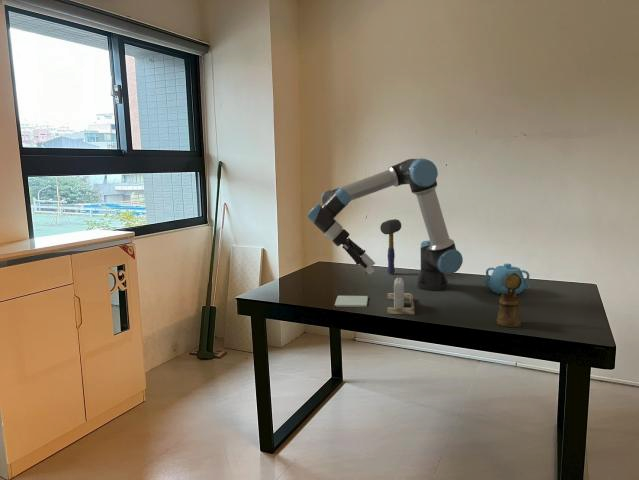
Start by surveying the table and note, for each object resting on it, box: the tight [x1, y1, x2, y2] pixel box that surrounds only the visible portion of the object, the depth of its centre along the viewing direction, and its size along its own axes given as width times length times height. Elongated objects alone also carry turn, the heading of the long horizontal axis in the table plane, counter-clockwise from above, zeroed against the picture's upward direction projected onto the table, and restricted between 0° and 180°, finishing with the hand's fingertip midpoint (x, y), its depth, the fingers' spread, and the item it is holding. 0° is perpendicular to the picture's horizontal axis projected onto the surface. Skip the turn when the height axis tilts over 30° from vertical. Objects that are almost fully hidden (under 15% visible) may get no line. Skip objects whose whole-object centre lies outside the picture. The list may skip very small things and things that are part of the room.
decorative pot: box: [484, 263, 531, 295], centre depth 229 cm, size 16×16×14 cm
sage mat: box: [334, 295, 369, 308], centre depth 222 cm, size 14×14×1 cm
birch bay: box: [386, 292, 415, 315], centre depth 214 cm, size 11×22×2 cm, turn 172°
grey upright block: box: [393, 277, 405, 308], centre depth 213 cm, size 10×4×12 cm, turn 170°
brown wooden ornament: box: [496, 273, 522, 328], centre depth 189 cm, size 9×14×18 cm, turn 148°
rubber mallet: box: [379, 218, 402, 275], centre depth 268 cm, size 12×8×30 cm, turn 143°
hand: (372, 268), depth 213 cm, fingers open, 13 cm apart
